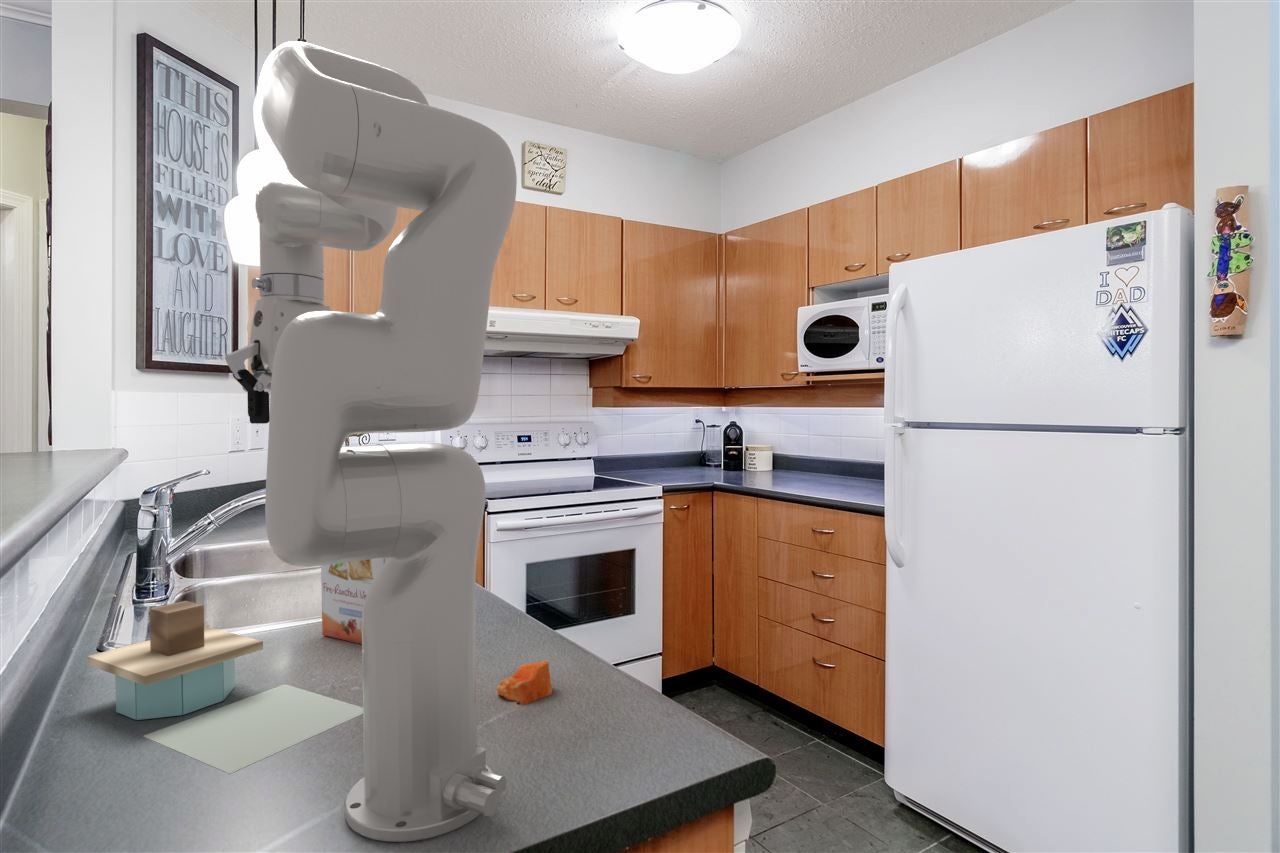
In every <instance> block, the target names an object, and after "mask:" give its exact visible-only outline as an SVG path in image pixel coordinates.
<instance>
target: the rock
mask: <svg viewBox="0 0 1280 853" xmlns="http://www.w3.org/2000/svg"><path fill="white" fill-rule="evenodd" d="M552 693H553V687H552V682H551V673H550V662H549V660H543V661H538V662H534V663H524V664H521V665H520V666H519V667H518V669H517V671H516V672H515V673H514V674H512V675H511V676H509V677H506V678H504V679H502V680H500V681H499V683H498V685H497V695H498V696H501V697H503V698H505V699H506V700H508V701H515V702H517V703H516V704H517V705H520V706H523V705H527V704H530V703H532V702H536V701H537V700H539V699H541V698H545V697H546V698H547V697H548V696H551V695H552Z"/></svg>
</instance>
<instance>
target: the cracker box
mask: <svg viewBox="0 0 1280 853" xmlns="http://www.w3.org/2000/svg"><path fill="white" fill-rule="evenodd" d="M386 560H387V558H375V559H368V560H361V561H354V562H347V563H339V564H332V565H323V566H320V576H321V577H320V578H321V579H320V581H321V582H320V584H321V626H322V627H321V629H322V636H325V637H330V638H335V639H339V640H342V641H343V640H344V641H348V642H352V643H356V644H361V645H362V611H363V605H364V602H365V599H366V595H367V593H368V591H369V589H370V587H371V584H372V583H373V581H374V579H375V578H376V576H377V574H378V573H379V571H380V570H381V568H382V566H383V565H384V563H385V562H386Z"/></svg>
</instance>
